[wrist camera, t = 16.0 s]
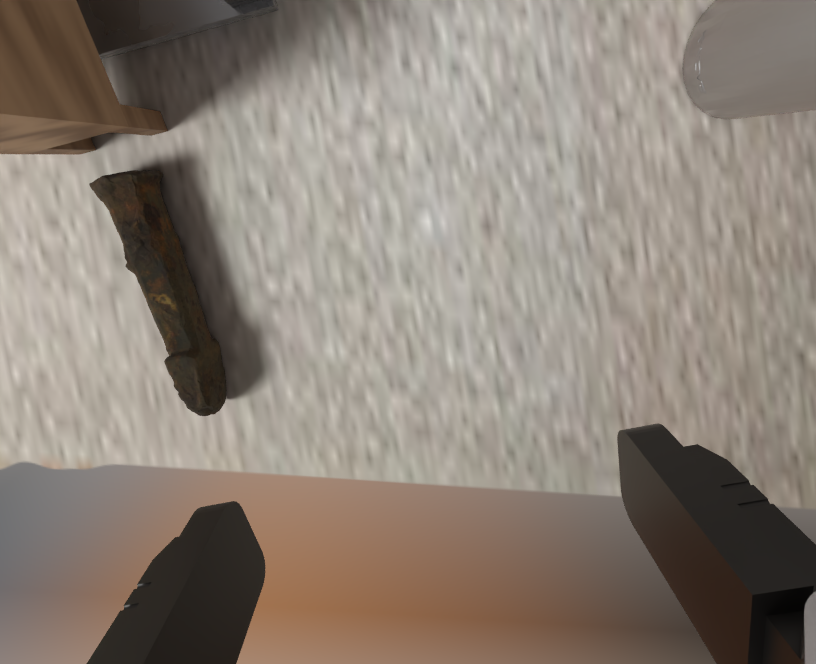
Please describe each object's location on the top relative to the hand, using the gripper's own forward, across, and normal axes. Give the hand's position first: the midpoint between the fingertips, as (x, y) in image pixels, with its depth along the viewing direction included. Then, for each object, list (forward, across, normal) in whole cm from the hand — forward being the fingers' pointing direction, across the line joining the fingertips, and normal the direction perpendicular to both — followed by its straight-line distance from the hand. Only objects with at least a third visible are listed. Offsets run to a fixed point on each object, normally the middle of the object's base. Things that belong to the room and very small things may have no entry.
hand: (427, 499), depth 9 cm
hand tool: (+34, +22, +1) cm, 40 cm away
